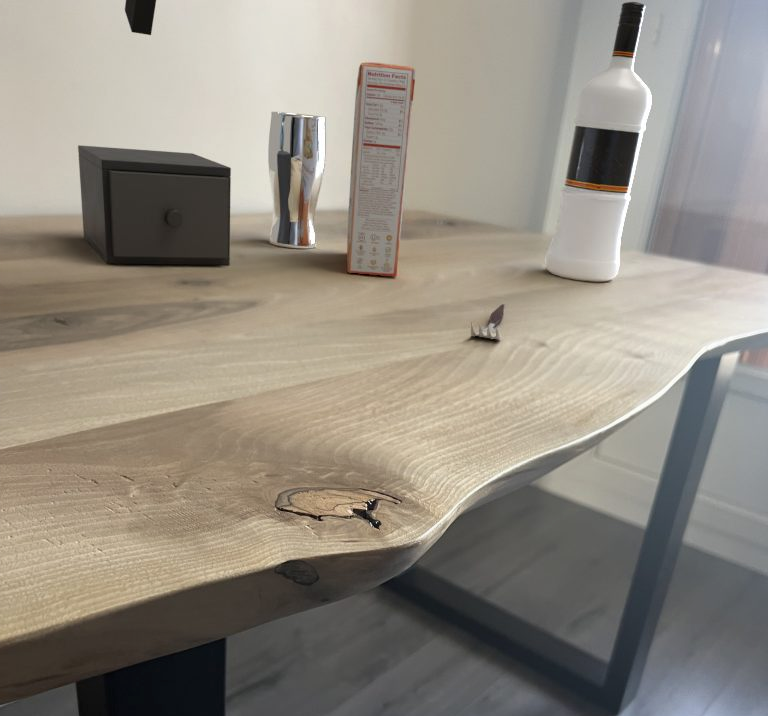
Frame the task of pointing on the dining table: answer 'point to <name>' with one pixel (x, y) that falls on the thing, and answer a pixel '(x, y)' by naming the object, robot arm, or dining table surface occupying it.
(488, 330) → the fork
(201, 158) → the small drawer box
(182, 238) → the grey knobbed drawer
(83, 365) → the dining table surface
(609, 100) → the vodka
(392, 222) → the cracker box
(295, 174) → the beer glass
